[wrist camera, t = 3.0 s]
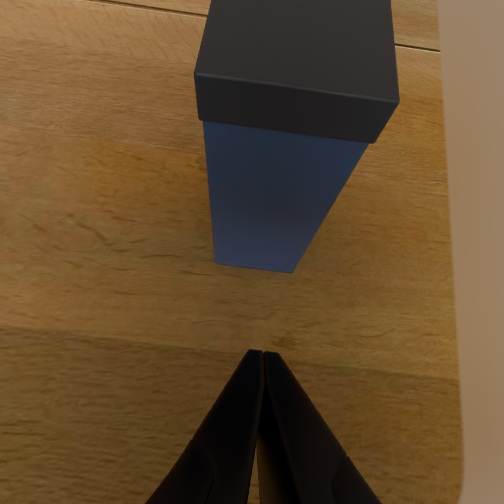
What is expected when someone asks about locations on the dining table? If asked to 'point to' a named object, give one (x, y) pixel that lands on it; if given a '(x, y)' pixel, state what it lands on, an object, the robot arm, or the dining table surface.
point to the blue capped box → (288, 116)
